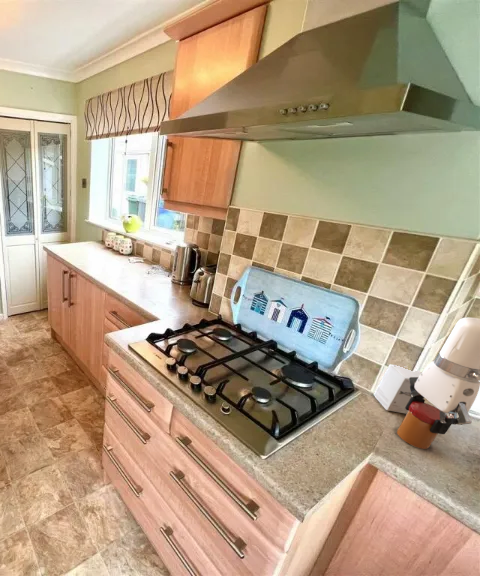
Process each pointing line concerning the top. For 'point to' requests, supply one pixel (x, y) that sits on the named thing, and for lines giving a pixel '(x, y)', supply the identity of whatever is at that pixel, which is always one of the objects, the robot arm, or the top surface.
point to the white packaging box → (395, 388)
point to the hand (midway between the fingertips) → (423, 420)
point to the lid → (425, 412)
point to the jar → (416, 432)
